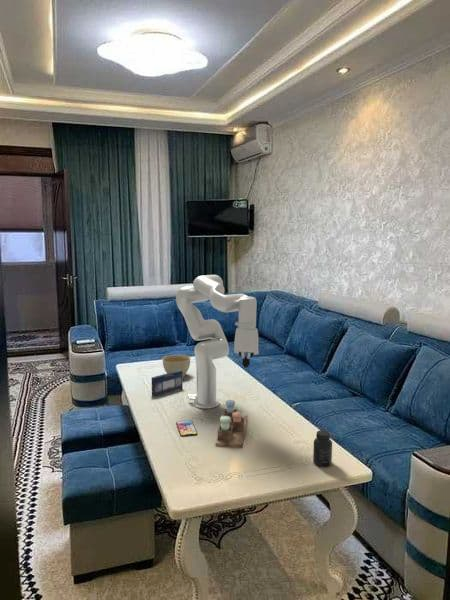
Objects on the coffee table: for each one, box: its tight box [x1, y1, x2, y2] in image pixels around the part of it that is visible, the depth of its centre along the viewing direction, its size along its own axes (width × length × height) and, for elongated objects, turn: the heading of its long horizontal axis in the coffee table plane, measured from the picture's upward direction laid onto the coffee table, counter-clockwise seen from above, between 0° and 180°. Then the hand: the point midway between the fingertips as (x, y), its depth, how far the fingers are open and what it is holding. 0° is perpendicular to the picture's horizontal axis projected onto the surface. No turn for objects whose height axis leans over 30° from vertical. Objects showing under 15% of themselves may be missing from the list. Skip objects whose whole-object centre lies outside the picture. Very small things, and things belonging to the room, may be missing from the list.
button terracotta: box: [232, 411, 243, 422], centre depth 204 cm, size 4×4×6 cm
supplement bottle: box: [312, 429, 333, 468], centre depth 177 cm, size 7×7×12 cm
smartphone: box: [175, 419, 198, 438], centre depth 207 cm, size 7×1×15 cm
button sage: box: [219, 415, 231, 431], centre depth 195 cm, size 4×4×6 cm
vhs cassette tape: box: [151, 370, 184, 398], centre depth 251 cm, size 18×3×10 cm, turn 131°
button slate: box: [225, 399, 236, 413], centre depth 213 cm, size 4×4×6 cm
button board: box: [215, 408, 248, 448], centre depth 205 cm, size 10×29×5 cm, turn 173°
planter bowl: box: [162, 354, 191, 378], centre depth 277 cm, size 16×16×11 cm
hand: (245, 366), depth 208 cm, fingers closed
